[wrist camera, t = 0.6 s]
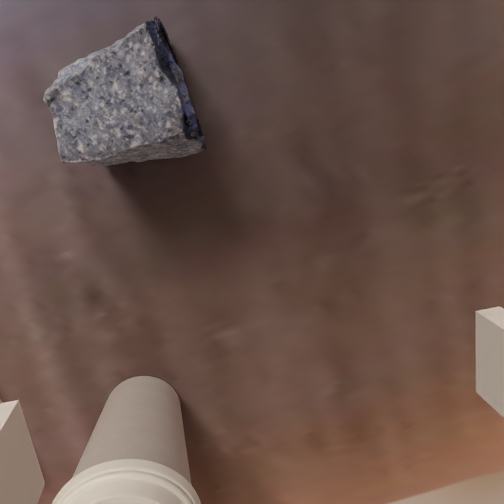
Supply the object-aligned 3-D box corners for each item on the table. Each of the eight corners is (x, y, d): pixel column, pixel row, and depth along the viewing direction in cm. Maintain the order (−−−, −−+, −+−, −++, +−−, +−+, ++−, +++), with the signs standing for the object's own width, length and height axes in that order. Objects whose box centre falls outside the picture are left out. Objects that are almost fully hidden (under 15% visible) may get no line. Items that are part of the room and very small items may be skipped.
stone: (198, 40, 37) (234, 162, 37) (84, 82, 38) (118, 201, 38) (141, -56, 25) (195, 123, 25) (-21, 10, 27) (28, 181, 26)
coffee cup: (134, 339, 41) (107, 454, 26) (219, 399, 43) (236, 534, 29) (64, 418, 42) (2, 571, 27) (151, 472, 44) (136, 639, 30)
